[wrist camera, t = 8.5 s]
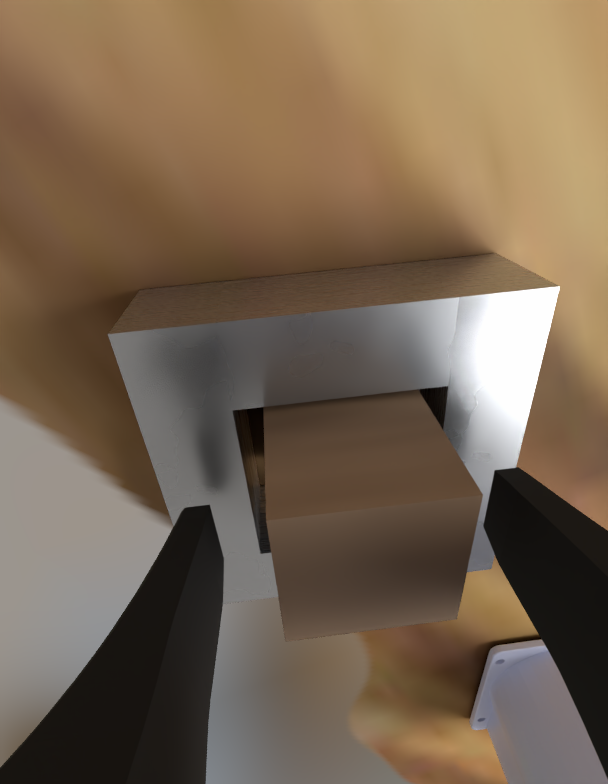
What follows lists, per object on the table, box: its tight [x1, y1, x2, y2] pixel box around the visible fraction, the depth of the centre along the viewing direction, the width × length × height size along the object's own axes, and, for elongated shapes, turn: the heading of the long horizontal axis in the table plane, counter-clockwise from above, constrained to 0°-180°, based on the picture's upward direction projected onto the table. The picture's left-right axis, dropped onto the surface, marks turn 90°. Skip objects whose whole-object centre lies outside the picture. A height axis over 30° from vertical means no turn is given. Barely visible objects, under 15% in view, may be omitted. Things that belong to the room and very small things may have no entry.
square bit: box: [263, 389, 483, 641], centre depth 12 cm, size 4×4×6 cm
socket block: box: [108, 253, 560, 604], centre depth 13 cm, size 10×10×3 cm
